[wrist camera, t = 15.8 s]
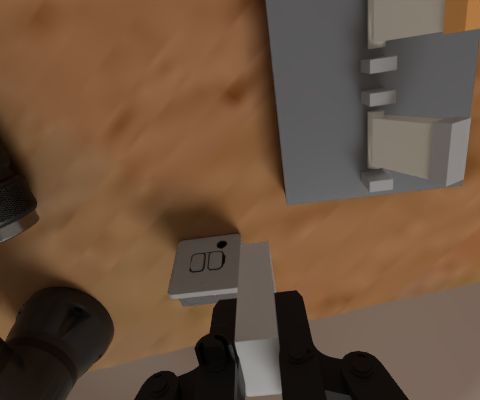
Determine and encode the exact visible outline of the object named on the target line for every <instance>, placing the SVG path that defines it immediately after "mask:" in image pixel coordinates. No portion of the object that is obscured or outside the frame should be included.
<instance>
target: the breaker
mask: <svg viewBox="0 0 480 400" xmlns="http://www.w3.org/2000/svg"><path fill="white" fill-rule="evenodd" d="M470 123H471V118H468V117H453V116H452V117H448V118H445V119H440V118H426V117H412V116H399V115H384V110H372V111H368V168H370V169H380V168H384V169H388V170H392V171H396V172H400V173H404V174H408V175H413V176H417V177H421V178H425V179H429V182H428V183H432V184H436V185H440V186H444V187H447V186H449V185H452V184H454V183H456V182H459V181H461V180H463V179H464V173H465V165H466V156H467V148H468V140H469V132H470Z"/></svg>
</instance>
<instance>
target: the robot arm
mask: <svg viewBox="0 0 480 400" xmlns="http://www.w3.org/2000/svg"><path fill="white" fill-rule="evenodd" d="M113 335H114V327H113V322H112V320H111V317H110V316H109V314H108V312H107V311H106V310H105V308H104V307H103V306H102V305H101V304H100V303H99V302H97V301H96V300H95V299H93V298H92V297H90V296H88V295H87V294H85V293H82V292H80V291H77V290H74V289H70V288H65V287H51V288H46V289H43V290H40V291H38V292H36V293H35V294H34V295H32V296H31V297H30V298H29V299H28V300H27V301H26V303H25V304H24V305H23V306H22V307H21V309H20V310H19V312H18V314H17V317H16V322H15V324H14V325H13V327H12V328H11V330H10V332H9V334H8V336H7V339H6V341H5V342H4V341H3V340H2V339H1V338H0V400H66V399H67V397H68V395H69V393H70V392H71V390H72V388H73V386H74V384H75V383H76V381H77V380H78V379H79V378H80V377H81V376H82V375H83V374H84V373H85V372H86V371H87V370H88V369H89V368H90V367H91V366H92V365H93V363H95V362H96V361H98V360H99V359H100V358H101V357H102V356H103V355H104V353H105V352H106V350H107V349H108V347H109V345H110V343H111V341H112V339H113ZM195 352H196V356H197V359H198V362H199V366H198V367H197V368H196V369H194V370H192V371H190V372H188V373H186V374H183V375H181V376H178V377H177V376H176V375H175V374H174V373H173V372H170V371H160V372H158V373H156V374H153V375H152V376H151V377H149V378H148V379H147V380H146V382H145V383H144V384H143V385H142V387H141V389H140V391H139V392H138V394H137V396H136V398H135V399H134V400H245V390H246V394H247V397H250V396H262V395H274V394H282V398H283V400H409V399H408V398H407V397H406V395H405V394H404V393H403V391H402V390H401V389H400V387H399V386H398V385H397V383H396V382H395V381H394V379H393V378H392V377H391V376H390V374H389V373H388V371H387V370H386V369H385V367H384V366H383V365H382V363H381V362H380V361H379V360H378V359H377V358H376V357H375V356H373V355H371V354H369V353H367V352H361V351H355V352H351V353H348V354H347V355H345V356H344V357H343V359H337V358H332V357H329V356H326V355H324V354H322V353H321V352H319V351H318V350H317V349H316V347H315V346H314V344H313V341H312V337H311V333H310V328H309V324H308V319H307V315H306V310H305V305H304V301H303V297H302V296H301V295H300V294H299V293H298V292H297V290H295V291H286V292H277V293H276V289H275V281H274V275H273V268H272V262H271V255H270V249H269V242H268V241H267V242H259V243H252V244H244V245H240V259H239V275H238V292H237V298H232V299H223V300H219V301H218V302H217V304H216V305H215V307H214V308H213V314H212V320H211V327H210V333H209V334H207V335H205V336H204V337H202V338H201V339H200V340H199V341H198V342H197V344H196V346H195Z"/></svg>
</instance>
